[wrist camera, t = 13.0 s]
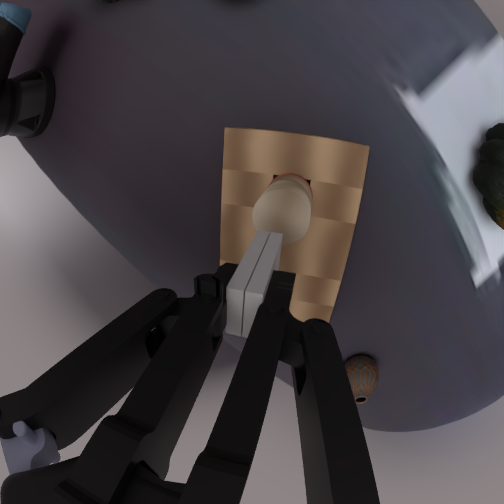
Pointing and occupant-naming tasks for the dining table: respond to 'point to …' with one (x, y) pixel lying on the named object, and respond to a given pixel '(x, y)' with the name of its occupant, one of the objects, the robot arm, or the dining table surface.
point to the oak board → (322, 208)
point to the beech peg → (284, 208)
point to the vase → (362, 377)
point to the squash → (492, 174)
